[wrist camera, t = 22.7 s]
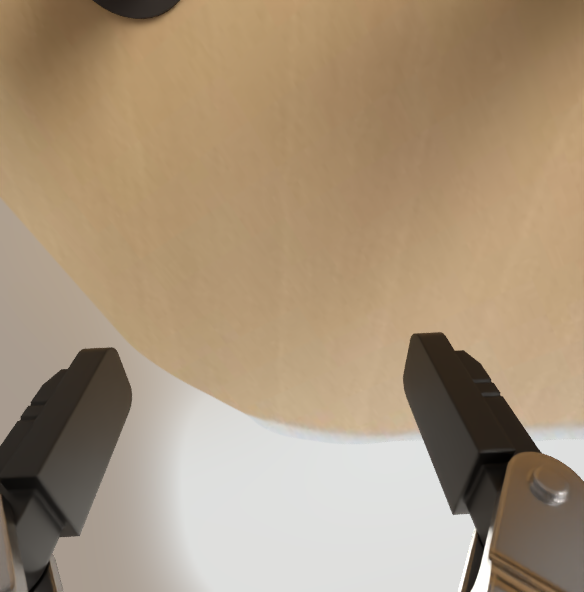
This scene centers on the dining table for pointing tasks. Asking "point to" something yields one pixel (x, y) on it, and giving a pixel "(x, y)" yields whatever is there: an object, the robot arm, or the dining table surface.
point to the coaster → (137, 7)
